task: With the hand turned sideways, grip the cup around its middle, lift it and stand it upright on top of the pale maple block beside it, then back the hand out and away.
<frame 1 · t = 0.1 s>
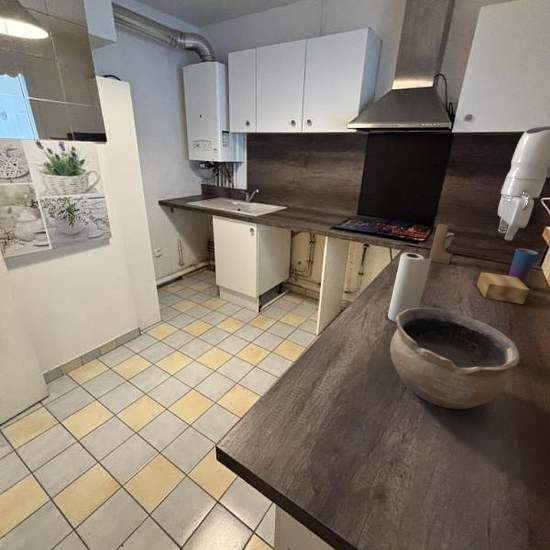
hand: (504, 236, 89), 26 cm above the worktop, tool pointing down, fingers open, 8 cm apart
riser: (498, 294, 111), on the worktop
wooden block: (438, 262, 143), on the worktop
cup: (513, 286, 119), on the worktop
paper towel roll: (399, 320, 92), on the worktop
ceramic bowl: (434, 387, 66), on the worktop
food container: (438, 252, 158), on the worktop
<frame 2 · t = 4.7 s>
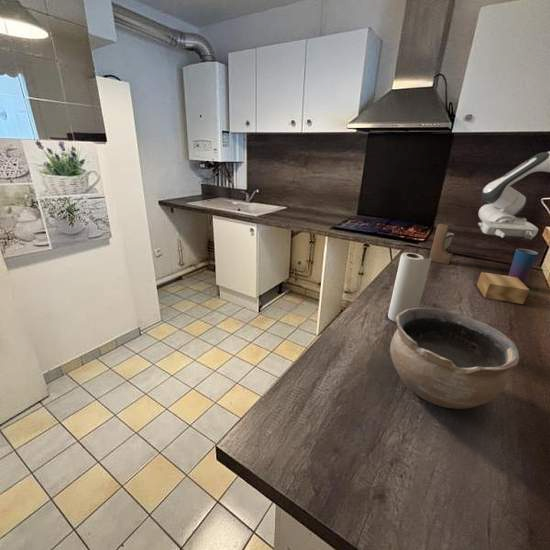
hand: (517, 236, 119), 19 cm above the worktop, tool horizontal, fingers open, 8 cm apart
nothing on the worktop moved.
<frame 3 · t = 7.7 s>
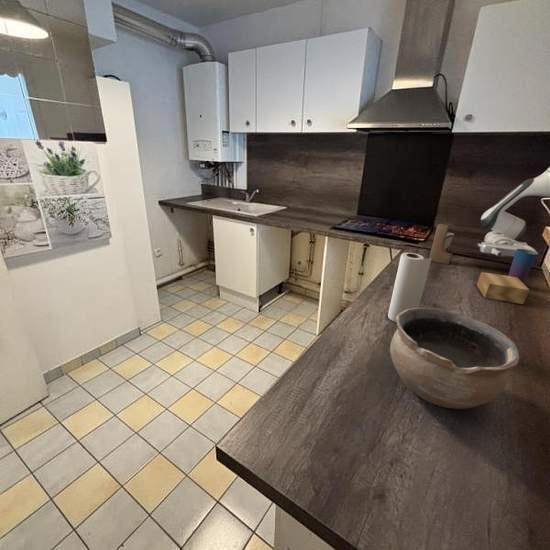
hand: (512, 255, 125), 10 cm above the worktop, tool horizontal, fingers open, 8 cm apart
nothing on the worktop moved.
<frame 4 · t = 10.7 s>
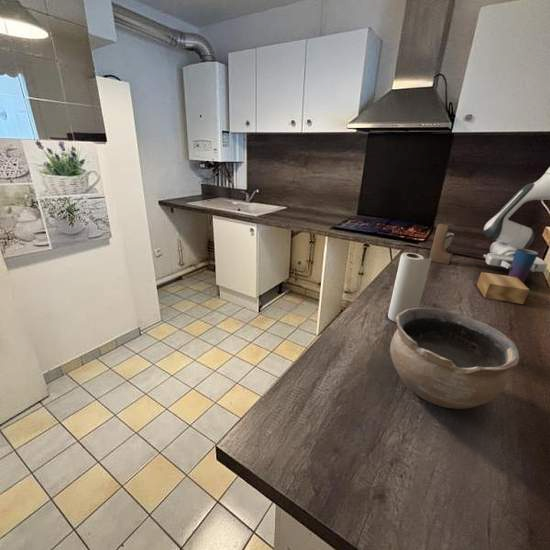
hand: (521, 268, 115), 8 cm above the worktop, tool horizontal, fingers closed on cup, 6 cm apart
cup: (512, 286, 119), on the worktop, touching gripper
everything else where it was.
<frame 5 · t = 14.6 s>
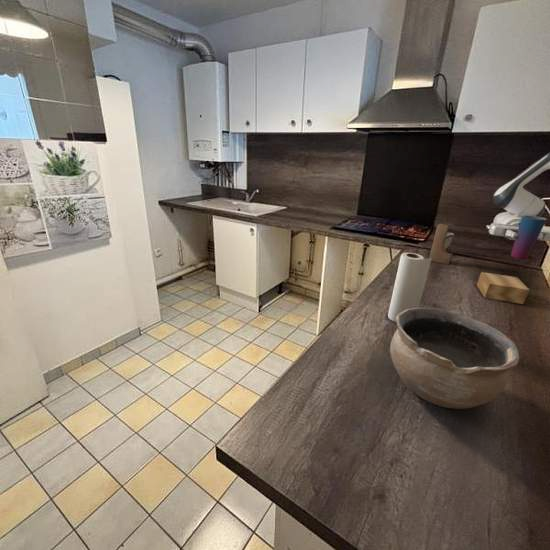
hand: (527, 237, 106), 22 cm above the worktop, tool horizontal, fingers closed on cup, 6 cm apart
cup: (518, 257, 110), point 14 cm above the worktop, touching gripper
everything else where it was.
when the fingers open (14 cm above the worktop, at t = 18.6 s): cup stays where it is, resting on riser.
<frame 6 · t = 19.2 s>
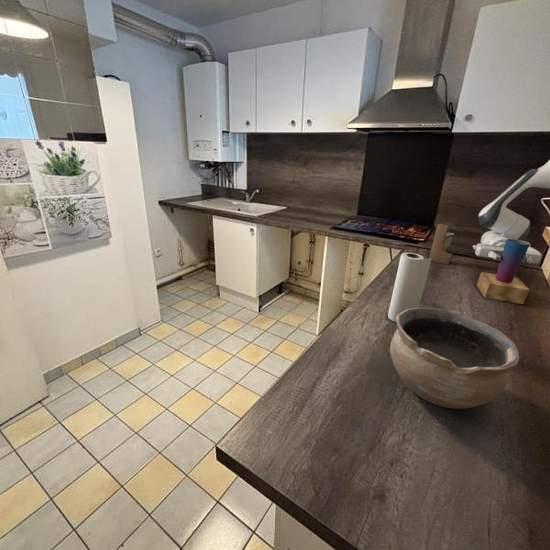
hand: (513, 259, 104), 15 cm above the worktop, tool horizontal, fingers open, 8 cm apart
cup: (503, 280, 109), point 6 cm above the worktop, touching riser
everything else where it was.
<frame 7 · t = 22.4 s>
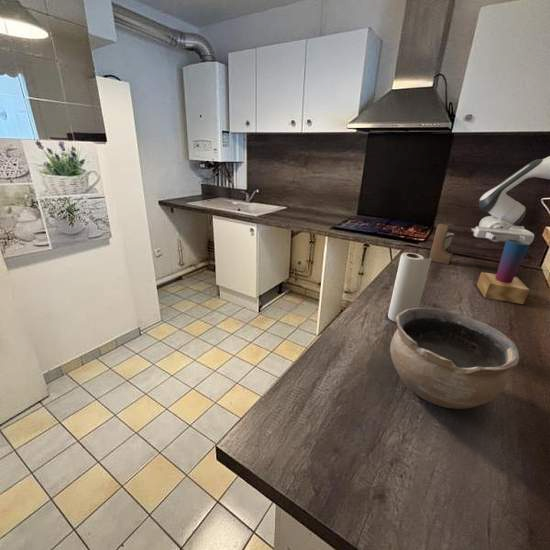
hand: (508, 239, 115), 19 cm above the worktop, tool horizontal, fingers open, 8 cm apart
nothing on the worktop moved.
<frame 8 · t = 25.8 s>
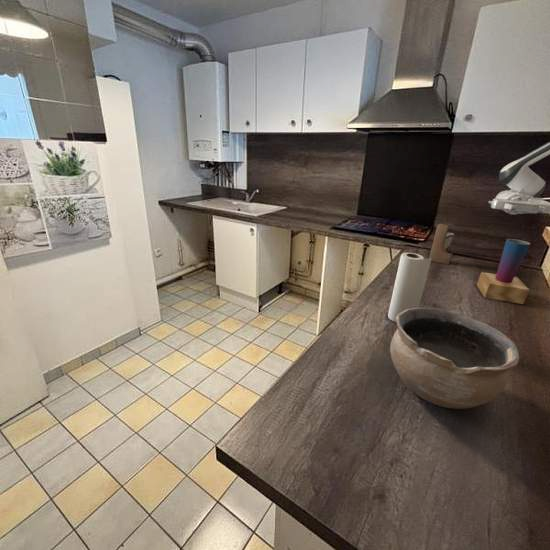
hand: (527, 208, 114), 30 cm above the worktop, tool horizontal, fingers open, 8 cm apart
nothing on the worktop moved.
at the end: cup inside the target area on the riser (0.1 cm from its centre), point 5.8 cm above the riser's base; cup tilted 0°; the gripper is holding nothing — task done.
